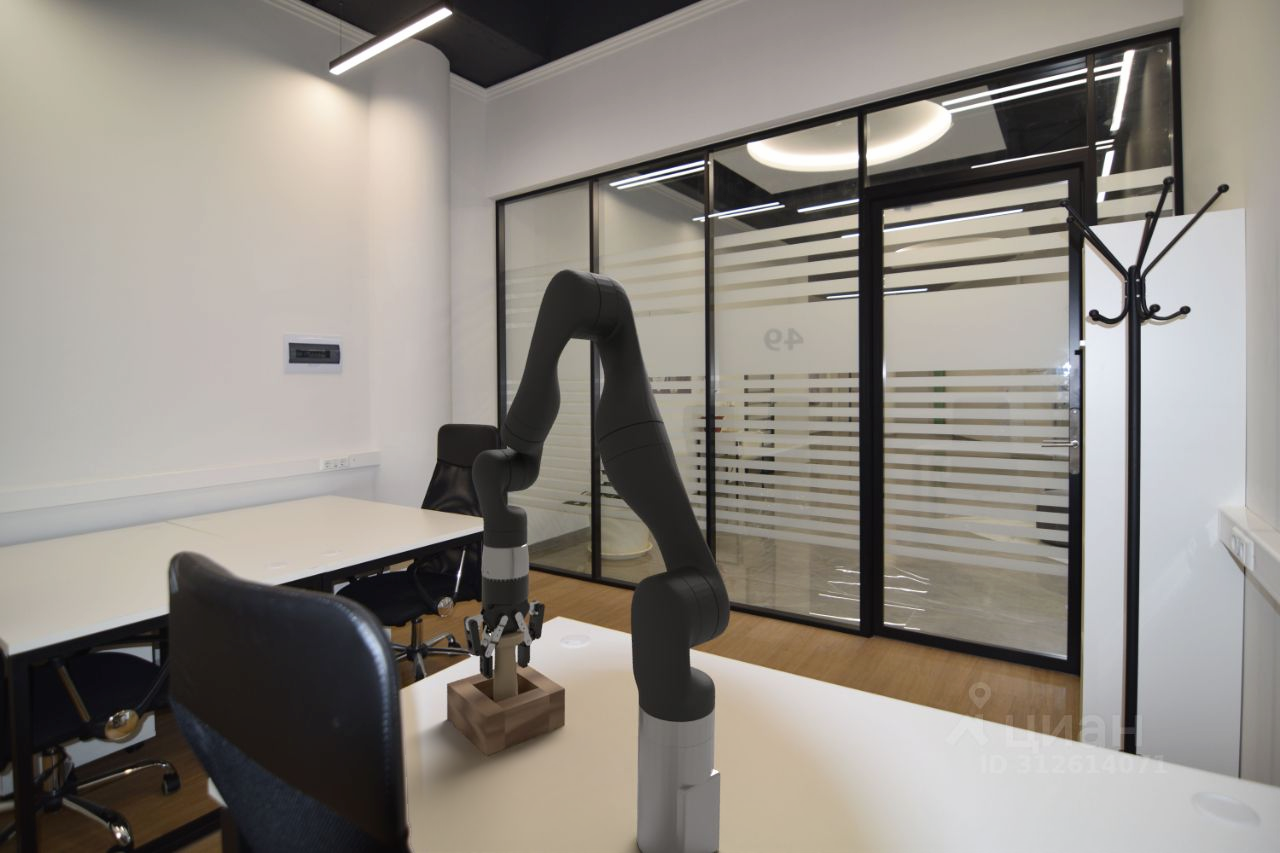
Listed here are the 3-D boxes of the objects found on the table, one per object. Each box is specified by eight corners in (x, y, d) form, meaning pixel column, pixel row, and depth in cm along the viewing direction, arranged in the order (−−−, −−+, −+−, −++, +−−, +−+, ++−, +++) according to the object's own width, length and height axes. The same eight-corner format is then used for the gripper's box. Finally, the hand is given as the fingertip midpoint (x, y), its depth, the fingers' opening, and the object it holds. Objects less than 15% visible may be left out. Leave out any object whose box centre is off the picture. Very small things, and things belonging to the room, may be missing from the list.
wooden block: (564, 724, 103) (564, 688, 103) (486, 755, 94) (486, 716, 93) (521, 693, 113) (521, 660, 113) (447, 718, 104) (447, 683, 104)
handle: (514, 732, 100) (513, 640, 99) (480, 725, 102) (479, 634, 102) (530, 718, 105) (529, 630, 104) (498, 711, 107) (497, 624, 106)
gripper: (475, 584, 95) (475, 693, 96) (555, 568, 104) (555, 667, 105) (453, 573, 100) (454, 676, 101) (531, 558, 110) (531, 652, 111)
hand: (505, 671), depth 103 cm, fingers open, 6 cm apart
